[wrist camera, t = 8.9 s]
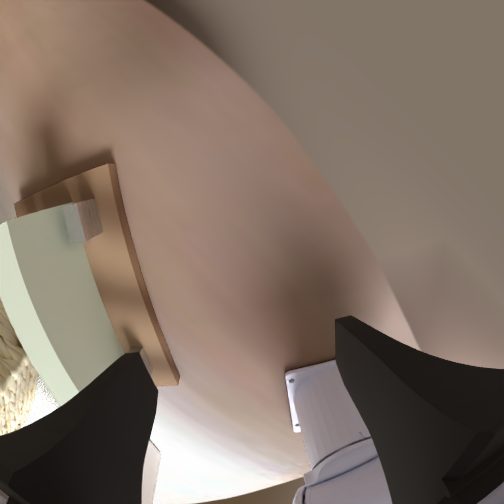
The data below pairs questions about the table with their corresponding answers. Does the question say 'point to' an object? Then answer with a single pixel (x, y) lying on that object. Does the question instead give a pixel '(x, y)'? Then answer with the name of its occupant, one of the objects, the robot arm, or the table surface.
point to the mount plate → (113, 265)
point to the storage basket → (14, 378)
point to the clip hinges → (84, 228)
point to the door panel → (55, 303)
